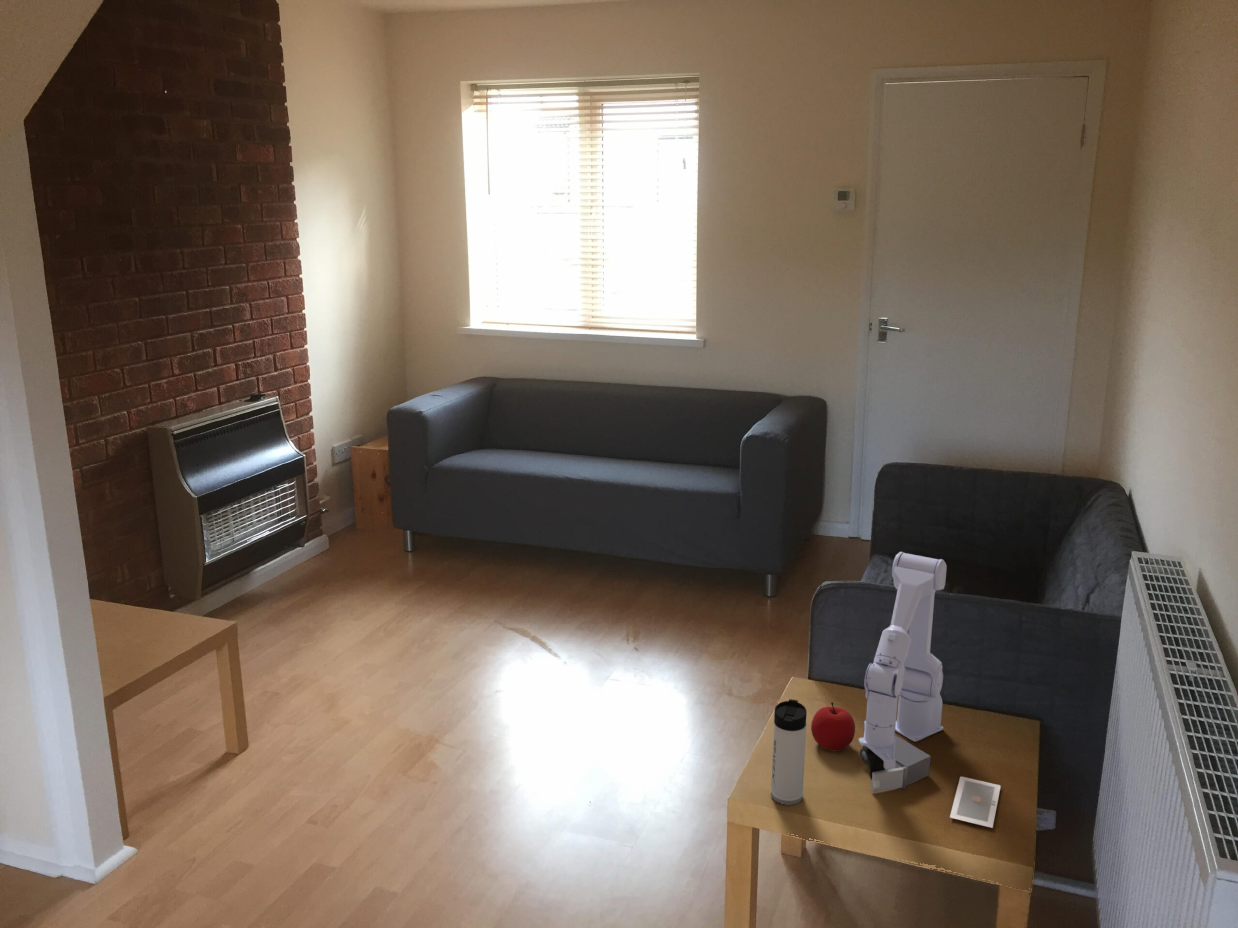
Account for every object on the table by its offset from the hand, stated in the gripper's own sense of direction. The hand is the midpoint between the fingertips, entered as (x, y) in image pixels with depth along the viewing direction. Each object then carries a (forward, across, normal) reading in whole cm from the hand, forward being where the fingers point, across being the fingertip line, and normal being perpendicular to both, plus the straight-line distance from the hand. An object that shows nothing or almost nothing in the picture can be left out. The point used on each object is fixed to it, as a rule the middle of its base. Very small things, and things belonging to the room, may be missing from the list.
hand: (876, 779), depth 212 cm
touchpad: (+3, +6, +18) cm, 19 cm away
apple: (+2, -16, -5) cm, 17 cm away
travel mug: (+2, +1, -18) cm, 19 cm away
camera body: (+2, -7, +6) cm, 10 cm away
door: (+2, +1, +2) cm, 3 cm away
